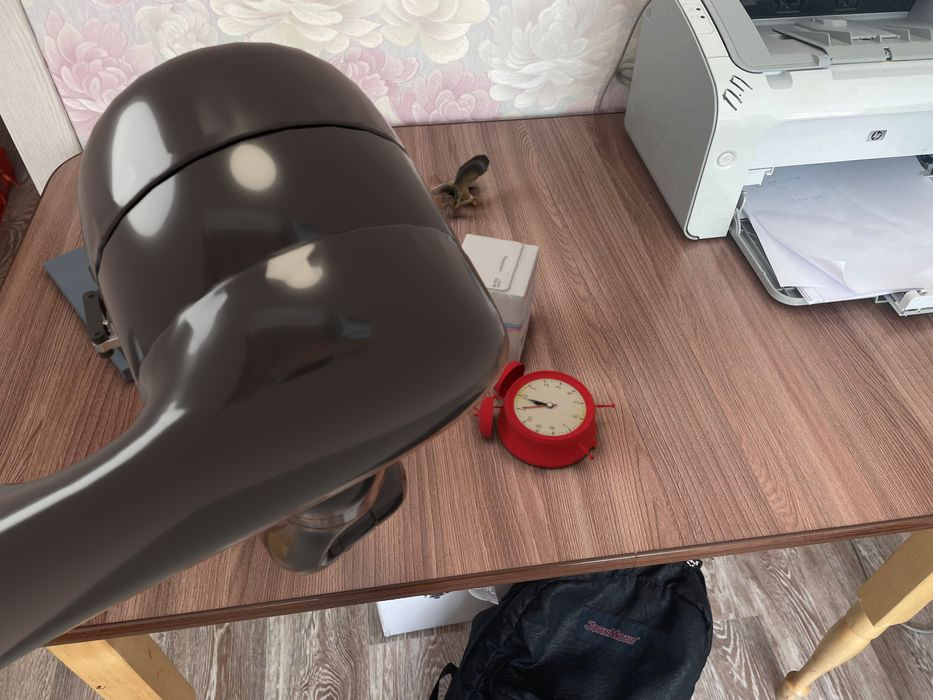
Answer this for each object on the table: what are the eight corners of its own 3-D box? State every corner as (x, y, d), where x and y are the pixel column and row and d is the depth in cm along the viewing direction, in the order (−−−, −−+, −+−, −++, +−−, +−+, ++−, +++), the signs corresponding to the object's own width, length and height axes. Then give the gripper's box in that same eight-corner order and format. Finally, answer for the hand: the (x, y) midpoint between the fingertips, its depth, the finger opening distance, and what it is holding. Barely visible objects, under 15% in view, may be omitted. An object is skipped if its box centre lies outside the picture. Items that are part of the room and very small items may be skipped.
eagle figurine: (492, 217, 97) (501, 170, 102) (464, 182, 92) (475, 135, 97) (447, 231, 101) (458, 186, 106) (418, 199, 96) (430, 153, 101)
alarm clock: (594, 468, 67) (455, 394, 69) (571, 496, 72) (442, 426, 74) (624, 391, 74) (497, 325, 75) (601, 421, 79) (482, 358, 80)
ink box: (463, 305, 87) (466, 228, 78) (531, 319, 86) (542, 243, 77) (444, 355, 81) (444, 279, 73) (516, 371, 80) (526, 295, 71)
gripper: (285, 286, 57) (186, 189, 65) (110, 373, 50) (26, 253, 59) (299, 349, 62) (207, 252, 71) (143, 434, 56) (62, 316, 64)
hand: (125, 253), depth 65 cm, fingers closed on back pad, 4 cm apart
